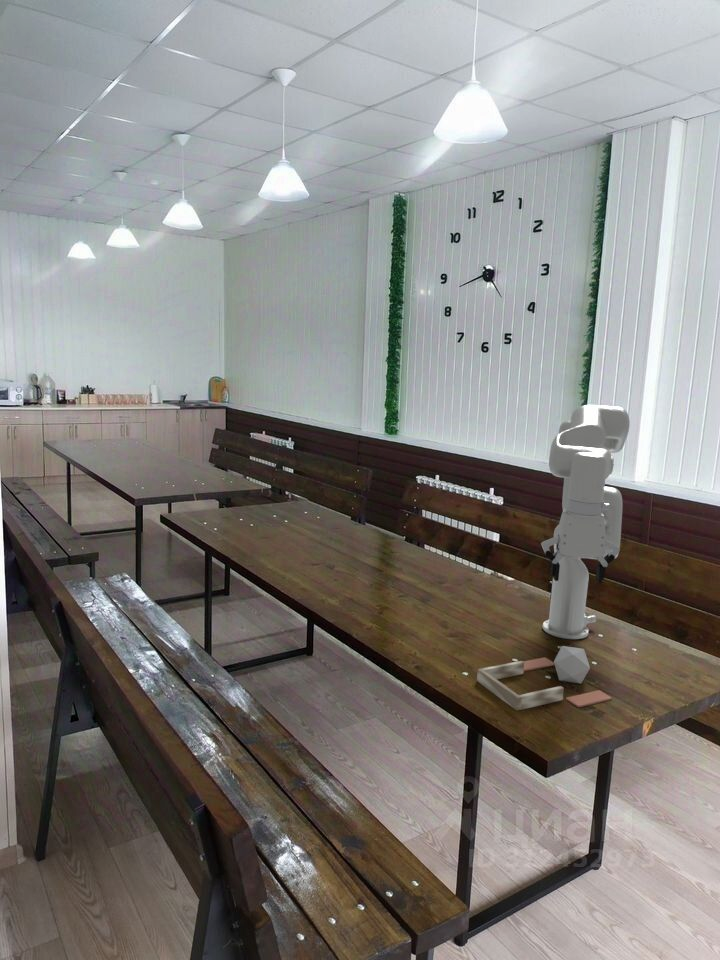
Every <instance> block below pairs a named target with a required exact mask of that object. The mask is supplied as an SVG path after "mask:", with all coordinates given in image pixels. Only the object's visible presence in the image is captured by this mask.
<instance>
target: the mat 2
mask: <svg viewBox="0 0 720 960" xmlns="http://www.w3.org/2000/svg"><path fill="white" fill-rule="evenodd" d="M612 699H613V698H612V697H611V696H610V695H608V694H606V693H605V692H603V691H602V690H600V689H598V690H594V691H589V692H585V693H581V694H576V695H572V696H569V697H568V696H567V697H565V700H566V701H568V702H569V703H571V704H572V705H574V706H576V707H577V708H582V707H586V706H591V705H594V704H598V703H604V702H607V701H611V700H612Z"/></svg>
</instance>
